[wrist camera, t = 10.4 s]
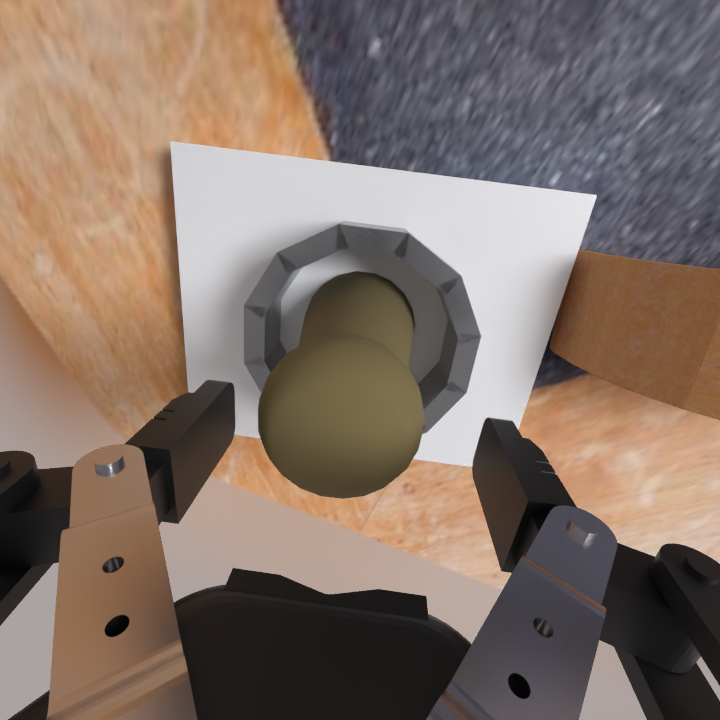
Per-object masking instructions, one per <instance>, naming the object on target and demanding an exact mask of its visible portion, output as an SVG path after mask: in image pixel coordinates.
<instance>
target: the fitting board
mask: <svg viewBox="0 0 720 720" xmlns="http://www.w3.org/2000/svg"><path fill="white" fill-rule="evenodd" d="M170 146H171V160H172V174H173V188H174V202H175V216H176V230H177V243H178V257H179V271H180V285H181V299H182V313H183V327H184V341H185V355H186V369H187V383H188V392H189V393H194V392H195V391H196V390H197V389H198V388H199V387H200V386H201V385H202V384H203V383H204V382H205V381H206V380H216V381H224V382H231V383H233V385H234V389H235V432H234V435H239V436H247V437H254V438H261V437H260V435H259V432H258V405H259V398H260V396H261V392H260V390H259V388H258V387H257V385H256V383H255V381H254V380H253V378H252V376H251V375H250V373H249V371H248V369H247V368H246V366H245V364H244V304H245V302H246V301H247V299H248V298H249V296H250V294H251V293H252V291H253V290H254V288H255V287H256V285H257V283H258V282H259V280H260V279H261V277H262V275H263V274H264V272H265V271H266V269H267V268H268V266H269V264H270V263H271V261H272V260H273V258H274V256H275V255H276V253H277V252H278V251H281V250H283V249H285V248H287V247H289V246H292V245H294V244H296V243H299V242H301V241H303V240H305V239H307V238H309V237H312V236H314V235H316V234H318V233H320V232H322V231H325V230H327V229H329V228H331V227H333V226H335V225H338V224H339V223H341V222H344V221H350V222H357V223H365V224H373V225H381V226H388V227H396V228H405V229H406V230H407V231H409V232H410V233H411V234H412V235H413V236H415V237H416V238H417V239H418V240H420V241H421V242H422V243H423V244H424V245H426V246H427V247H428V248H429V249H431V250H432V251H433V252H434V253H435V254H437V255H438V256H439V257H440V258H442V259H443V260H444V261H445V262H446V263H448V264H449V265H451V266H452V267H453V268H454V269H455V270H456V271H457V272H458V273H459V274H460V275H461V276H462V279H463V282H464V285H465V288H466V291H467V294H468V297H469V300H470V303H471V306H472V310H473V313H474V316H475V319H476V322H477V325H478V328H479V331H480V334H481V339H480V343H479V347H478V351H477V355H476V358H475V362H474V366H473V370H472V374H471V378H470V382H469V385H468V389H467V393H466V394H465V395H464V396H463V397H462V398H461V399H460V400H459V401H458V402H457V403H456V404H455V405H454V406H453V407H452V408H451V409H450V410H449V411H448V412H447V413H446V414H445V415H444V416H443V417H442V418H441V419H440V420H439V421H438V422H437V423H436V424H435V425H434V426H433V427H432V428H431V429H430V430H429V431H428V432H427V433H424V434H422V437H421V441H420V445H419V449H418V451H417V453H416V455H415V456H414V458H413V459H417V460H425V461H432V462H440V463H447V464H455V465H462V466H469V467H472V466H473V458H474V455H475V451H476V448H477V444H478V441H479V437H480V434H481V430H482V427H483V423H484V421H485V419H486V418H488V417H489V418H496V419H503V420H511V421H513V422H514V424H515V425H516V427H517V429H519V426H520V423H521V420H522V417H523V414H524V411H525V408H526V405H527V402H528V399H529V396H530V393H531V390H532V387H533V384H534V381H535V378H536V375H537V372H538V369H539V366H540V364H541V361H542V358H543V355H544V352H545V349H546V346H547V343H548V340H549V337H550V334H551V331H552V328H553V325H554V322H555V319H556V316H557V313H558V310H559V307H560V304H561V301H562V298H563V295H564V292H565V289H566V286H567V283H568V280H569V277H570V274H571V271H572V268H573V265H574V262H575V259H576V256H577V253H578V250H579V247H580V244H581V241H582V238H583V236H584V233H585V230H586V227H587V224H588V221H589V218H590V215H591V212H592V209H593V206H594V203H595V200H596V197H597V195H591V194H583V193H575V192H567V191H559V190H551V189H543V188H536V187H528V186H520V185H512V184H504V183H496V182H488V181H480V180H472V179H465V178H457V177H449V176H441V175H433V174H425V173H417V172H409V171H402V170H394V169H386V168H378V167H370V166H362V165H354V164H346V163H338V162H331V161H323V160H315V159H307V158H299V157H291V156H283V155H275V154H267V153H260V152H252V151H244V150H236V149H228V148H220V147H212V146H204V145H197V144H189V143H181V142H173V141H170ZM354 271H360V272H368V273H375V274H377V275H380V276H382V277H384V278H386V279H388V280H390V281H392V282H393V283H394V284H395V285H396V286H397V287H398V288H399V289H400V290H401V291H403V292H404V294H405V295H406V297H407V299H408V301H409V303H410V305H411V307H412V309H413V315H414V321H415V330H414V336H413V342H412V347H411V353H410V359H409V364H408V368H409V370H410V372H411V374H412V375H413V377H414V379H415V381H416V382H417V384H419V382H420V381H421V380H422V379H423V378H424V377H425V376H426V375H427V374H428V373H429V372H430V371H431V369H432V368H433V367H434V366H435V365H436V364H437V363H438V362H439V359H440V355H441V350H442V346H443V341H444V336H445V332H446V327H447V323H448V319H447V316H446V313H445V310H444V307H443V305H442V302H441V299H440V296H439V293H438V291H437V288H436V286H435V285H433V284H432V283H431V282H430V281H428V280H427V279H426V278H425V277H423V276H422V275H421V274H420V273H418V272H417V271H416V270H414V269H413V268H412V267H411V266H409V265H408V264H407V263H406V262H404V261H403V260H402V259H401V258H399V257H396V256H389V255H381V254H373V253H365V252H358V251H350V250H340V251H338V252H336V253H334V254H331V255H329V256H327V257H325V258H322V259H320V260H318V261H316V262H313V263H311V264H309V265H307V266H304V267H302V269H301V270H300V272H299V273H298V275H297V276H296V278H295V279H294V281H293V282H292V284H291V285H290V287H289V288H288V290H287V291H286V293H285V294H284V295H283V297H282V299H281V327H280V341H281V343H282V345H283V347H284V349H285V351H286V352H287V353H288V352H290V351H291V350H293V349H295V348H297V347H298V345H299V340H300V336H301V332H302V327H303V323H304V318H305V314H306V311H307V308H308V306H309V303H310V301H311V298H312V296H313V295H314V294H315V293H316V292H317V290H318V289H319V288H320V287H321V286H322V285H323V284H324V283H325V282H327V281H329V280H331V279H332V278H334V277H336V276H337V275H340V274H345V273H350V272H354Z"/></svg>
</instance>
